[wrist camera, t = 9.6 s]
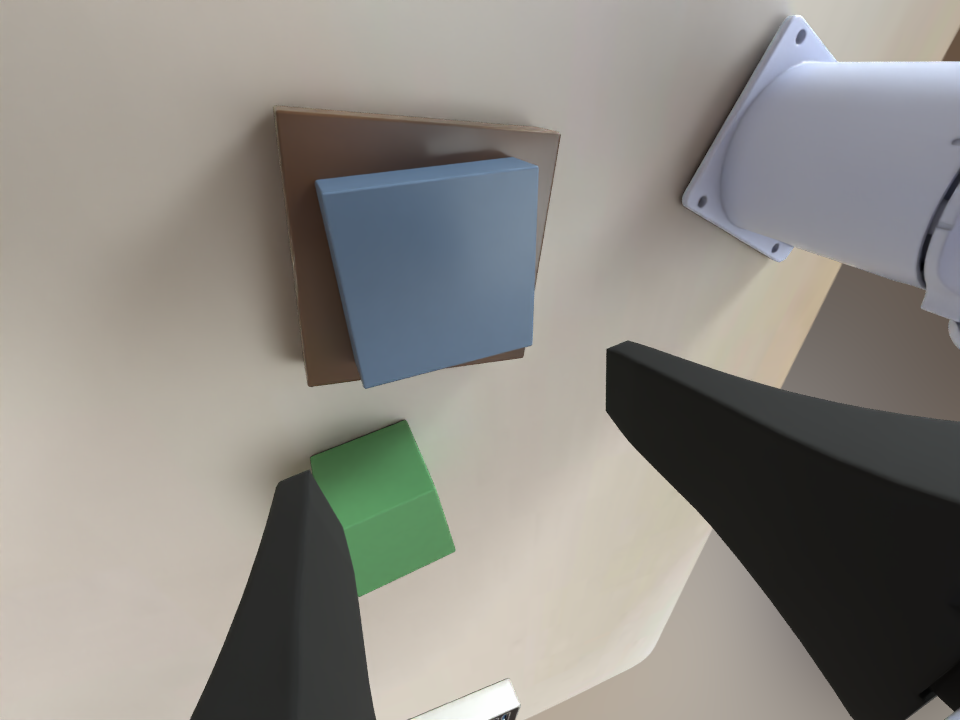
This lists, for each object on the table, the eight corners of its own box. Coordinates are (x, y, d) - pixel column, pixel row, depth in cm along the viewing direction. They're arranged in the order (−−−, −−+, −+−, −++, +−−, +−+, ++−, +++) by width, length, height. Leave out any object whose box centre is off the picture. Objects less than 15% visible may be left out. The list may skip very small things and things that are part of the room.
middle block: (513, 156, 15) (539, 165, 14) (512, 325, 19) (532, 345, 17) (313, 179, 13) (320, 193, 12) (355, 363, 17) (364, 390, 15)
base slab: (536, 126, 17) (562, 132, 15) (506, 339, 21) (523, 358, 20) (272, 105, 13) (274, 109, 12) (303, 363, 18) (308, 388, 17)
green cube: (405, 418, 21) (435, 489, 18) (426, 480, 24) (456, 551, 21) (309, 456, 20) (320, 539, 17) (342, 516, 23) (358, 598, 20)
